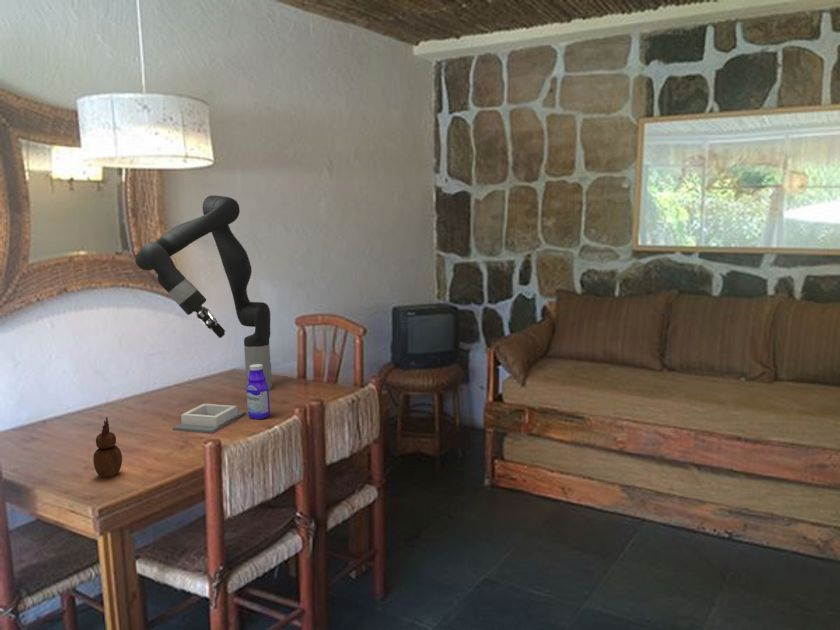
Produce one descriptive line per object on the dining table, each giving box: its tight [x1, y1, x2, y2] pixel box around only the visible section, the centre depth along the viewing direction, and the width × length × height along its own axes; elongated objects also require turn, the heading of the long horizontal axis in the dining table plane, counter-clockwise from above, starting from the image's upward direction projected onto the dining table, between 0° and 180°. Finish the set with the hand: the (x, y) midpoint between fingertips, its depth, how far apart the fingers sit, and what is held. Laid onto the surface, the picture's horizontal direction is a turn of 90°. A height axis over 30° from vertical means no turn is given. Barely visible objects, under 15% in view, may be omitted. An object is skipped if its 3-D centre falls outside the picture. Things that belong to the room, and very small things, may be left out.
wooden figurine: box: [92, 416, 123, 478], centre depth 173 cm, size 7×6×15 cm
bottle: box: [246, 364, 271, 420], centre depth 220 cm, size 7×6×17 cm
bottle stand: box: [171, 403, 247, 434], centre depth 217 cm, size 20×14×4 cm
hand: (222, 334), depth 216 cm, fingers open, 8 cm apart
